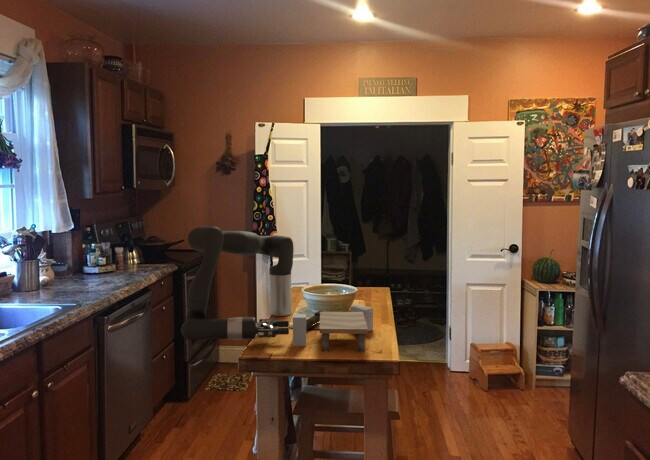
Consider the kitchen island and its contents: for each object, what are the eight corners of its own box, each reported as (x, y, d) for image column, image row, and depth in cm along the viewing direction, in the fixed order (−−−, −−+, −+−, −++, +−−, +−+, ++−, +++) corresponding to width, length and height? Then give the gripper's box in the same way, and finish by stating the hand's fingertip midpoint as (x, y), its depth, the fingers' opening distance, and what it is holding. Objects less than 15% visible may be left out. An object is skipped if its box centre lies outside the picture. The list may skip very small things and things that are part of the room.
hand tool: (305, 333, 195) (305, 321, 195) (296, 332, 197) (296, 320, 197) (329, 321, 212) (329, 310, 211) (320, 320, 214) (321, 309, 213)
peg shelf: (320, 332, 196) (320, 311, 195) (362, 332, 196) (363, 311, 195) (319, 352, 174) (319, 328, 173) (367, 352, 174) (367, 329, 173)
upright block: (293, 341, 185) (293, 314, 184) (306, 341, 185) (306, 314, 184) (292, 345, 181) (292, 317, 180) (305, 345, 181) (305, 317, 180)
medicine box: (373, 330, 200) (373, 307, 199) (365, 332, 196) (365, 310, 196) (358, 325, 205) (358, 304, 204) (350, 328, 202) (350, 306, 201)
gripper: (239, 323, 173) (289, 322, 174) (242, 312, 187) (288, 311, 189) (240, 345, 174) (289, 344, 175) (243, 332, 188) (288, 331, 189)
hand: (288, 327), depth 182 cm, fingers open, 8 cm apart
